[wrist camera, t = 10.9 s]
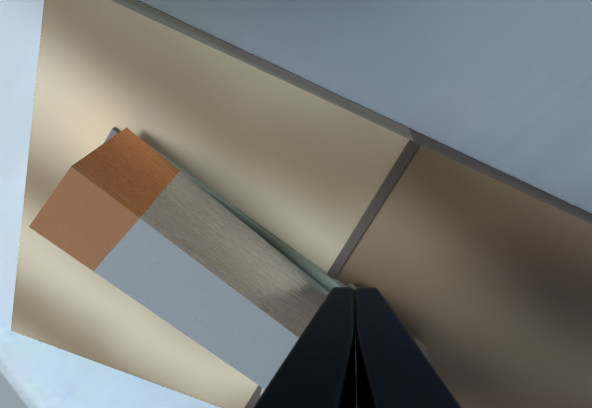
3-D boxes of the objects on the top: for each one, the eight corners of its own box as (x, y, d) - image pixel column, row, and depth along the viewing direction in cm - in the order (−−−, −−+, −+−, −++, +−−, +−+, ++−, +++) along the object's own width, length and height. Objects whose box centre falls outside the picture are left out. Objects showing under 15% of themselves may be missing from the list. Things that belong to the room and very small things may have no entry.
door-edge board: (73, -30, 12) (-107, -31, 7) (735, 281, 15) (923, 431, 10) (28, 311, 19) (-76, 422, 15) (477, 478, 22) (513, 620, 17)
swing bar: (426, 346, 16) (442, 419, 13) (345, 393, 17) (344, 465, 15) (141, 107, 12) (87, 142, 10) (76, 195, 14) (16, 245, 11)
